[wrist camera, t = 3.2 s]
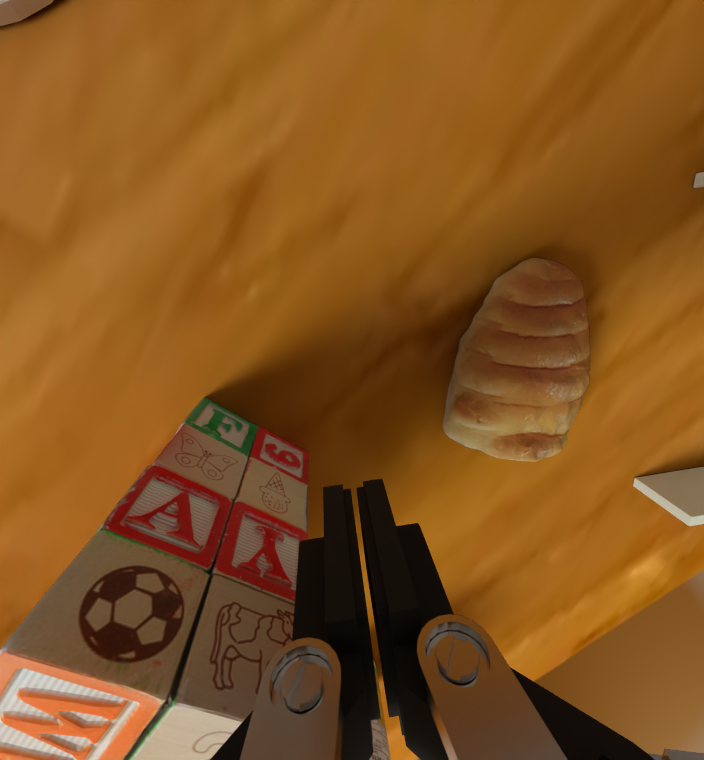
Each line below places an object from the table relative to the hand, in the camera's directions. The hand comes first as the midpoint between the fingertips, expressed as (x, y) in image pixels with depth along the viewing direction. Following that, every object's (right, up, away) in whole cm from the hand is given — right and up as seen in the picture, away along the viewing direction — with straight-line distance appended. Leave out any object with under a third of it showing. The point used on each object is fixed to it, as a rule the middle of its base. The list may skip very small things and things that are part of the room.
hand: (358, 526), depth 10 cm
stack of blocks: (-11, -6, +11) cm, 17 cm away
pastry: (+8, +5, +9) cm, 13 cm away
